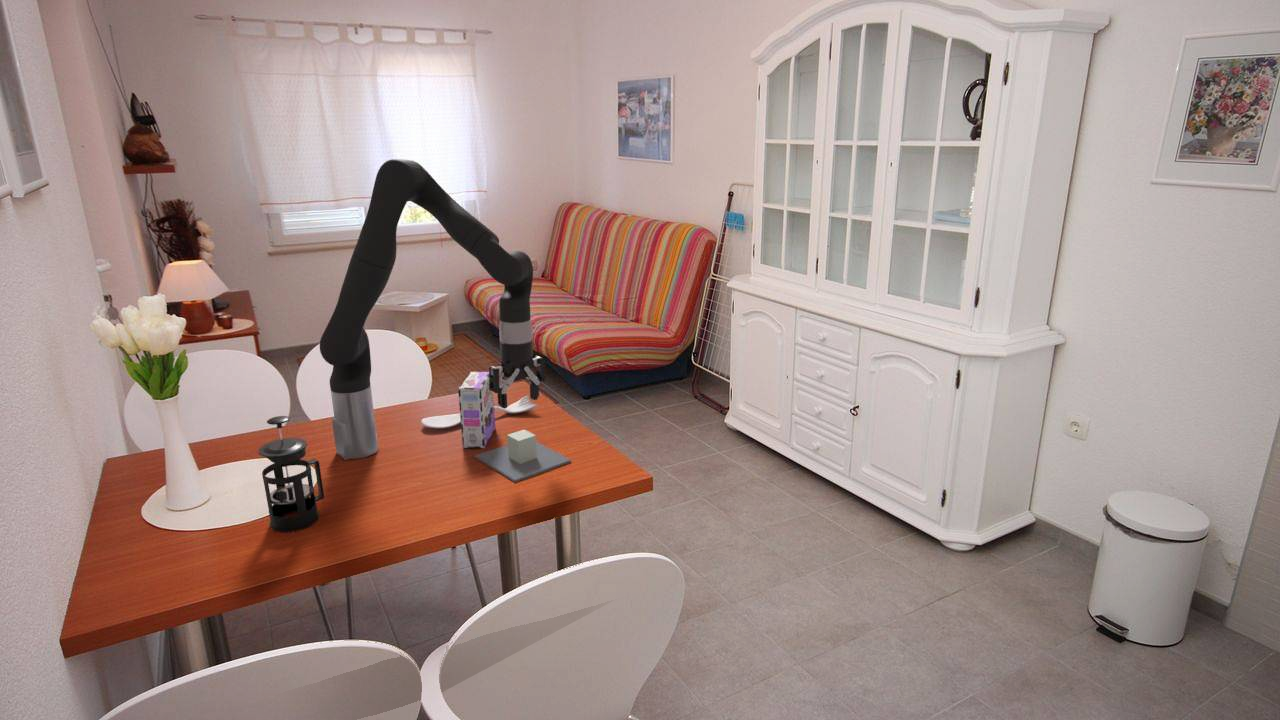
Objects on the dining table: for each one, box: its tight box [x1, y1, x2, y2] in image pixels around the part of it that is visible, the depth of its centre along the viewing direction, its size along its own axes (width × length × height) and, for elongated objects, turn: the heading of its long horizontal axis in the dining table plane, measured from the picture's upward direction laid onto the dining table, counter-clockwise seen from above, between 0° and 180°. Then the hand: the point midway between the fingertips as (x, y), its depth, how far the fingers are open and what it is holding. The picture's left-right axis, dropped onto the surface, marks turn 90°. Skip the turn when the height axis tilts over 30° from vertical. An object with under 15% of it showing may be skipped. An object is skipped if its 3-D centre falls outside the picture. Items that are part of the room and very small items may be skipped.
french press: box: [257, 415, 325, 533], centre depth 151 cm, size 12×9×23 cm
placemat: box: [474, 441, 572, 483], centre depth 181 cm, size 16×18×1 cm
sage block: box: [506, 429, 537, 464], centre depth 180 cm, size 5×5×6 cm
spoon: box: [421, 395, 540, 430], centre depth 207 cm, size 9×32×4 cm, turn 118°
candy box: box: [457, 371, 496, 449], centre depth 192 cm, size 14×6×16 cm, turn 179°
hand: (518, 403), depth 177 cm, fingers open, 8 cm apart
